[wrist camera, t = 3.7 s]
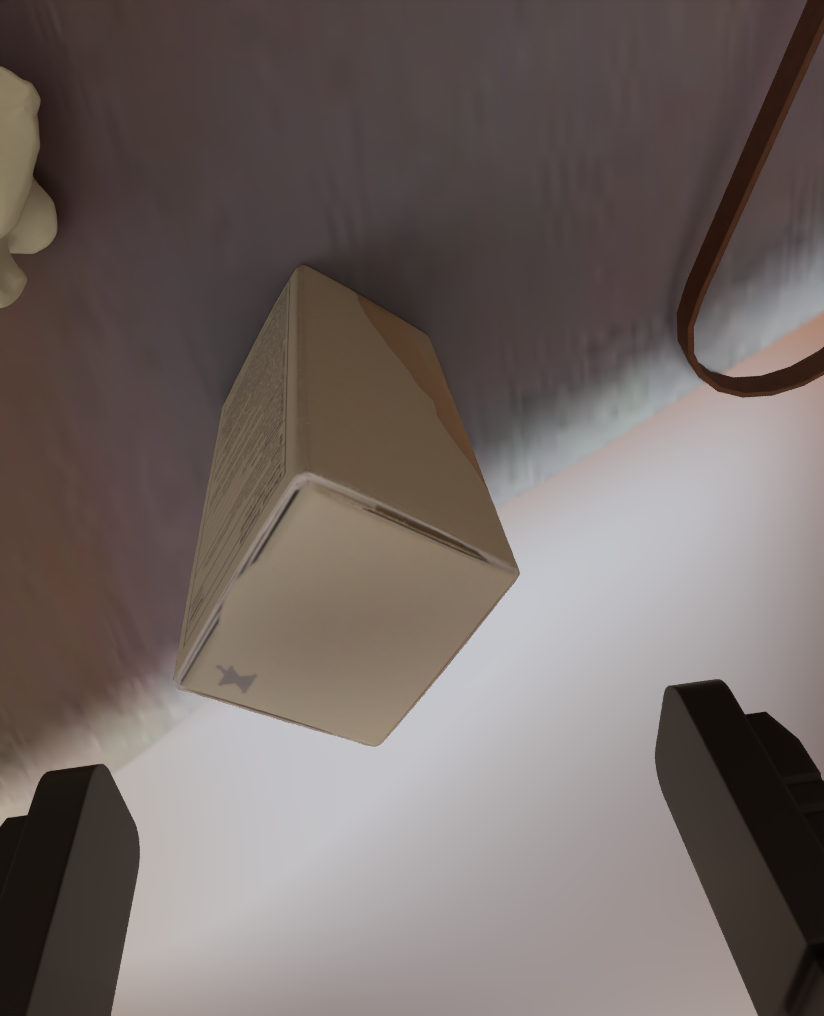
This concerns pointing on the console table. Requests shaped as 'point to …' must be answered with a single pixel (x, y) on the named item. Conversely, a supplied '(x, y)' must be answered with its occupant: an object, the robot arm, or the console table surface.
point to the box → (338, 524)
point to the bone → (20, 184)
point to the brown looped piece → (815, 20)
